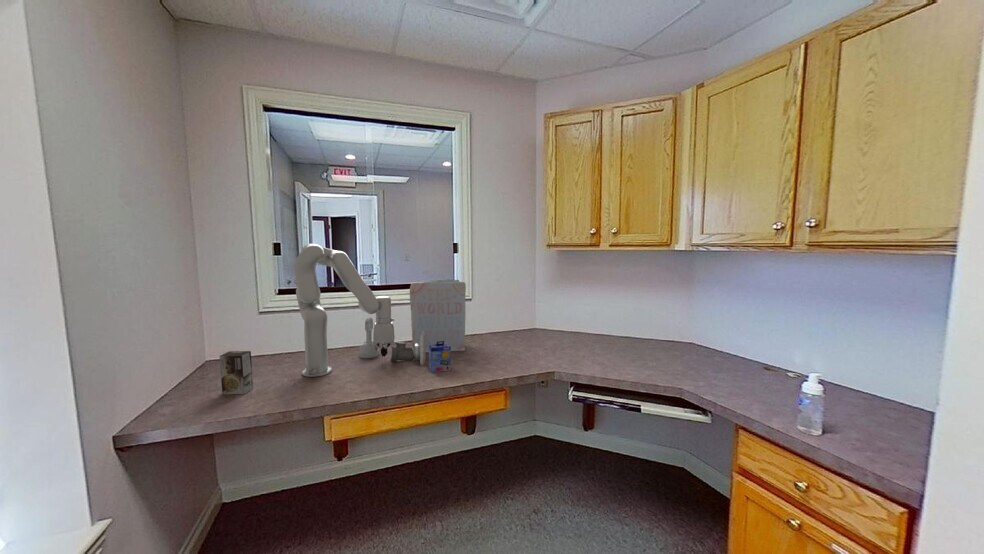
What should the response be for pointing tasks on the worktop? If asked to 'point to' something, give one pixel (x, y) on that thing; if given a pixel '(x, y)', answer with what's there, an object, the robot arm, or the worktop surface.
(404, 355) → the pipe fitting
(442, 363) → the ink cartridge box
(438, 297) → the grey shopping bag
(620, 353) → the worktop surface
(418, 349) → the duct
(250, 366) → the coffee box
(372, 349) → the electric toothbrush
